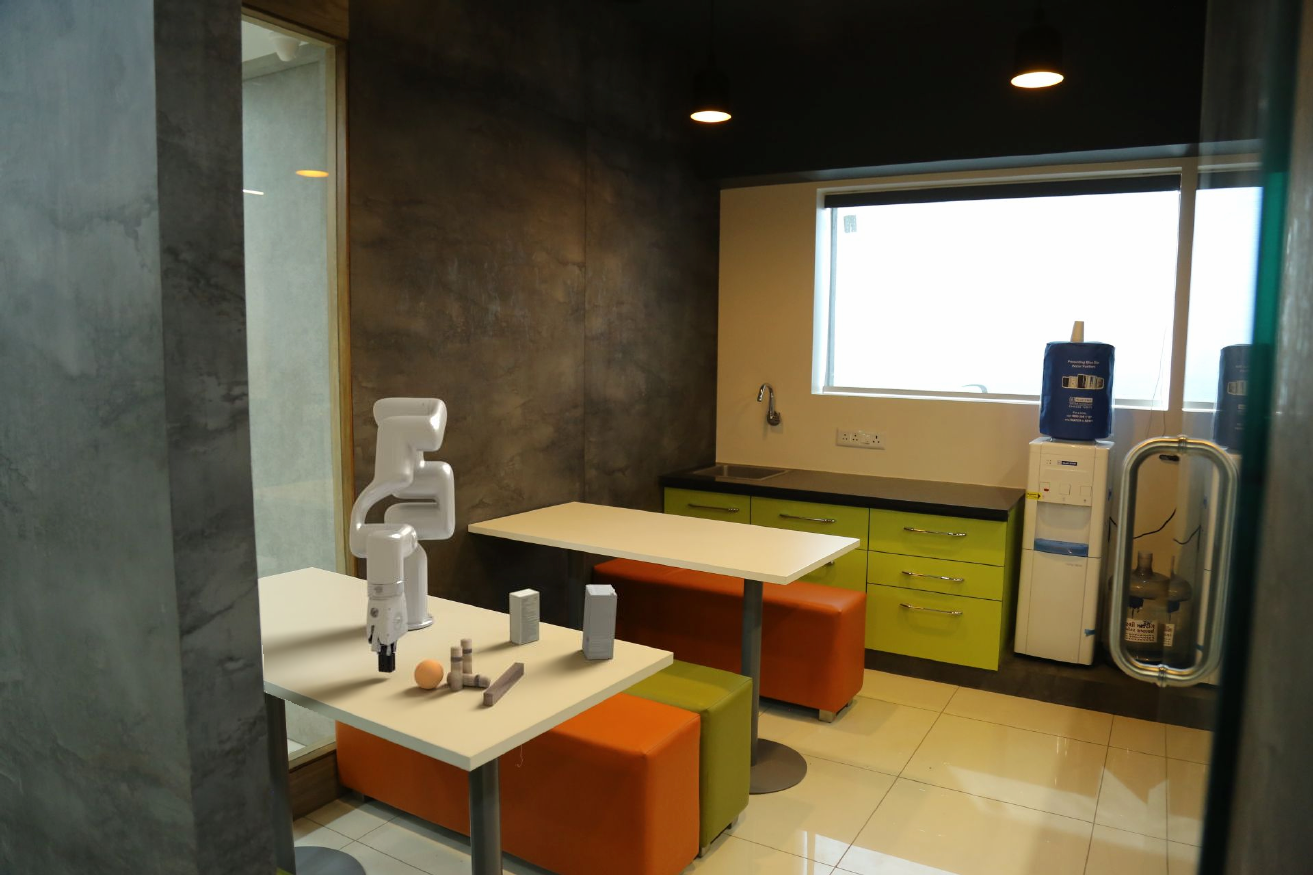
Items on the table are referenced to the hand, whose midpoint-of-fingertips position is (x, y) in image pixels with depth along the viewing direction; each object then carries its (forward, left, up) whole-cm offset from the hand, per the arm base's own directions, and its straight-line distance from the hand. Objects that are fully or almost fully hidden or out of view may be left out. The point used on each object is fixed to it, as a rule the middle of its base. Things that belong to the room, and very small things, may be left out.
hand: (386, 670), depth 190 cm
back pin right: (+16, +6, -2) cm, 18 cm away
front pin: (+12, +7, 0) cm, 14 cm away
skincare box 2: (+22, +43, -2) cm, 48 cm away
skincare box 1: (+2, +37, -2) cm, 37 cm away
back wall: (+23, +14, -2) cm, 27 cm away
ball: (+12, +3, +2) cm, 12 cm away
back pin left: (+14, +11, -2) cm, 18 cm away
